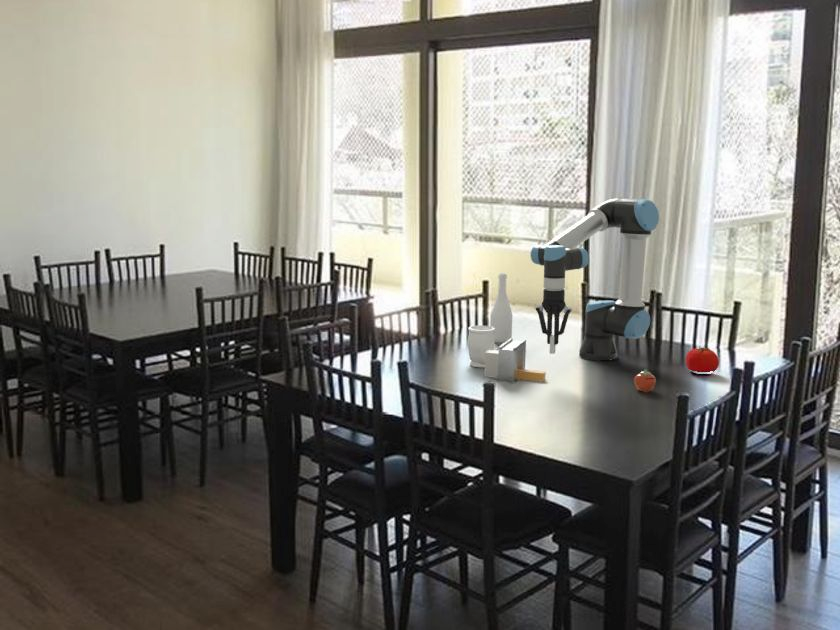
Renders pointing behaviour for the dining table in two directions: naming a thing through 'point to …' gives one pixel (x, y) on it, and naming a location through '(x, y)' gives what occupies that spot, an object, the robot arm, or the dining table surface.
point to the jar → (480, 343)
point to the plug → (492, 369)
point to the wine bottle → (501, 313)
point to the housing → (511, 360)
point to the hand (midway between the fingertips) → (552, 352)
